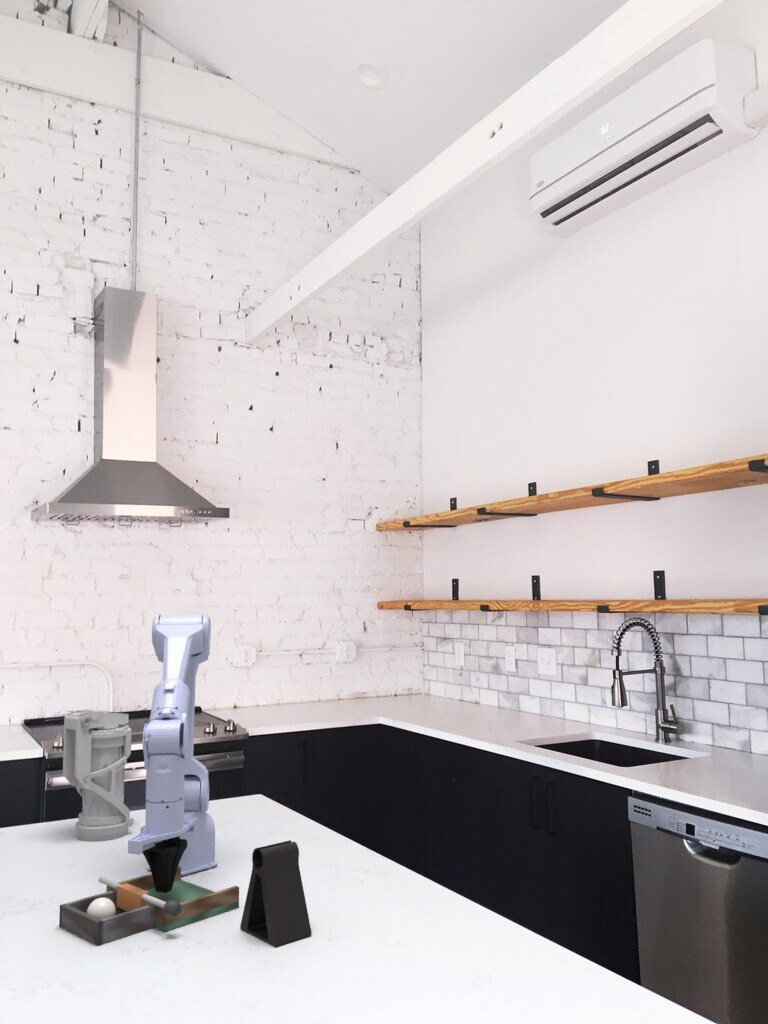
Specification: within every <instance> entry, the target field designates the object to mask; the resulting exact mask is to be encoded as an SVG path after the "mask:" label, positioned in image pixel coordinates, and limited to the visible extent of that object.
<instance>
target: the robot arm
mask: <svg viewBox="0 0 768 1024" xmlns="http://www.w3.org/2000/svg"><path fill="white" fill-rule="evenodd" d="M151 625H152V626H151V641H152V646H153V649H154V653H155V656H156V657H157V661H158V662H161V663H162V664H163V665H162V681H160V682H159V683H158V684H156V686H155V687H154V689H153V695H152V702H151V709H150V715H149V722H148V723H147V722H146V723H144V727H143V731H142V751H143V760H144V761H143V763H144V764H143V767H144V770H146V773H145V776H146V778H145V820H144V821H145V825H143V826H140V829H139V830H140V831H139V832H138V834H136V835H135V836H134V837H132V838H129V839H128V840H127V854H129V855H131V854H132V855H137V856H138V855H141V854H142V855H143V856H144V858H145V860H146V862H147V864H148V865H147V867H146V869H147V870H149V871H150V874H151V873H152V877H153V881H154V885H155V889H156V892H163V893H167V892H169V891H171V890H172V887H173V883H174V879H175V875H176V871H177V868H178V866H179V867H181V877H182V876H183V877H184V876H187V875H189V874H193V873H197V872H201V871H203V870H207V869H210V868H214V867H218V862H216V826H215V822H214V819H213V817H212V816H211V814H210V813H208V812H207V811H208V810H209V803H210V781H209V770H208V769H207V766H206V765H204V764H203V763H202V762H201V761H199V760H198V759H197V758H195V757H194V746H195V745H194V743H195V742H194V739H195V715H196V714H195V706H196V679H197V678H196V677H197V674H198V673H197V672H198V670H199V665H200V664H203V663H205V662H206V661H208V660H209V656H210V653H211V634H212V633H211V631H212V630H211V628H212V627H211V626H212V625H211V616H210V615H208V613H203V614H160V613H158V614H156V615H155V616H154V617H153V620H152V624H151ZM185 775H192V776H193V775H195V776H194V777H190V776H189V777H185Z"/></svg>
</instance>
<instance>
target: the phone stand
mask: <svg viewBox="0 0 768 1024" xmlns="http://www.w3.org/2000/svg"><path fill="white" fill-rule="evenodd" d="M251 855H252V856H251V858H252V859H251V860H252V868H251V869H252V870H251V875H250V878H249V884H248V889H247V893H246V898H245V902H244V907H243V913H242V918H241V922H240V930H241V931H243V932H244V933H246V934H249V935H250V936H252V937H254V938H256V939H258V940H260V941H261V942H264V943H266V944H268V945H270V946H271V947H274V948H277V947H280V946H283V945H284V946H285V945H287V944H290V943H293V942H296V941H298V940H299V941H300V940H301V939H305V938H308V937H312V935H313V934H312V928H311V923H310V917H309V912H308V906H307V901H306V895H305V891H304V890H305V889H304V885H303V881H302V876H301V870H300V864H299V863H300V861H299V860H300V859H299V858H300V849H299V846H298V843H297V842H296V841H292V840H286V841H281V842H278V843H272V844H269V845H265V846H260V847H256V848H254V849H253V851H252V854H251Z"/></svg>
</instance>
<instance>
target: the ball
mask: <svg viewBox="0 0 768 1024" xmlns="http://www.w3.org/2000/svg"><path fill="white" fill-rule="evenodd" d="M87 914H89V915H91V916H93V917H95V918H98V919H100V920H101V919H104V918H108V917H111V916H114V915H115V914H116V908H115V905H114V903H113V902H112V901H111V900H110V899H108V898H98V899H96V900H94V901H93V902H92V903H91V904H90V905H89V907H88V909H87Z"/></svg>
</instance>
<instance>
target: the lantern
mask: <svg viewBox="0 0 768 1024" xmlns="http://www.w3.org/2000/svg"><path fill="white" fill-rule="evenodd" d="M66 712H68V713H67V714H65V716H64V719H63V723H64V724H63V748H62V749H63V755H62V775H63V777H64V778H65V779H66V781H67V782H68V783H69V784H70V786H73V787H75V788H76V791H77V794H79V795H80V797H81V798H82V799H81V800H82V806H81V807H82V809H81V812H79V814H78V821H76V822H75V824H74V826H75V833H76V837H77V839H79V840H80V841H86V842H103V841H111V840H116V839H119V838H122V837H125V836H126V835H127V834H128V831H129V827H130V828H131V827H132V826H133V825H135V824H134V823H135V819H134V818H132V817H130V816H131V811H130V809H129V807H128V806H127V805H126V804H125V802H124V800H125V798H124V797H125V767H126V765H127V764H128V763H127V761H128V760H127V759H129V757H130V756H131V754H132V728H131V727H130V726H129V713H122V712H114V711H110V712H108V711H106V710H105V711H104V710H95V709H76V710H66Z"/></svg>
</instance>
